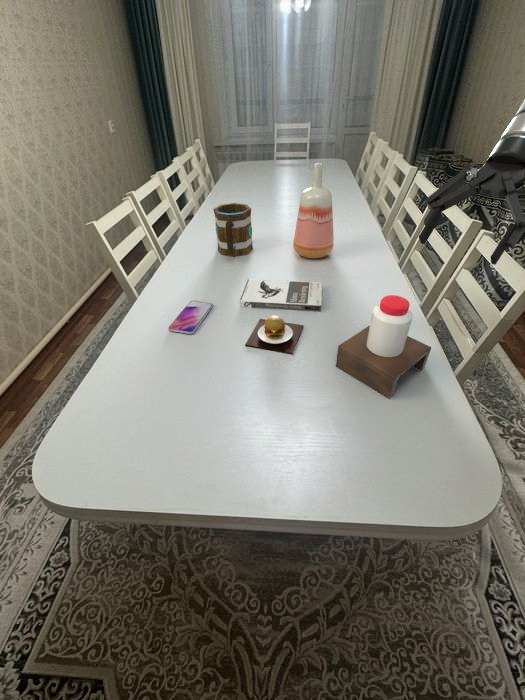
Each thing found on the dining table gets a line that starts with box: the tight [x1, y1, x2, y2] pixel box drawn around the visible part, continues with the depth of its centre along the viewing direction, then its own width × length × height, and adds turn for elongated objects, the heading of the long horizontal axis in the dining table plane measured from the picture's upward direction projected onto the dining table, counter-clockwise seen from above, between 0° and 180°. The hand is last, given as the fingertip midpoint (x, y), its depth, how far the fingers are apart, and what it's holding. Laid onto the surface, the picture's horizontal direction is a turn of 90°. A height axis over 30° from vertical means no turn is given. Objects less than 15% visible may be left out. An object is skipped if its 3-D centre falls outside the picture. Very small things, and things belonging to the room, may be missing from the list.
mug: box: [212, 202, 254, 258], centre depth 129 cm, size 20×14×15 cm
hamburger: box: [244, 315, 304, 355], centre depth 90 cm, size 12×12×6 cm
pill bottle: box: [366, 294, 414, 357], centre depth 74 cm, size 8×8×11 cm
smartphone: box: [167, 300, 214, 335], centre depth 99 cm, size 7×1×15 cm
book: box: [239, 278, 323, 313], centre depth 106 cm, size 23×14×2 cm, turn 82°
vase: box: [292, 162, 335, 259], centre depth 122 cm, size 14×14×30 cm
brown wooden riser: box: [335, 324, 432, 399], centre depth 79 cm, size 14×14×6 cm
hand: (454, 250), depth 67 cm, fingers open, 13 cm apart
